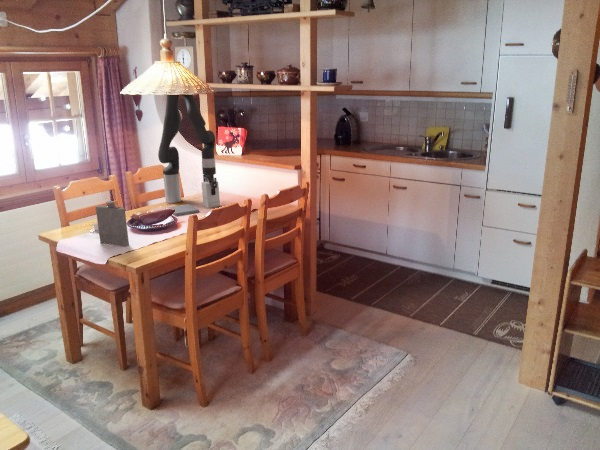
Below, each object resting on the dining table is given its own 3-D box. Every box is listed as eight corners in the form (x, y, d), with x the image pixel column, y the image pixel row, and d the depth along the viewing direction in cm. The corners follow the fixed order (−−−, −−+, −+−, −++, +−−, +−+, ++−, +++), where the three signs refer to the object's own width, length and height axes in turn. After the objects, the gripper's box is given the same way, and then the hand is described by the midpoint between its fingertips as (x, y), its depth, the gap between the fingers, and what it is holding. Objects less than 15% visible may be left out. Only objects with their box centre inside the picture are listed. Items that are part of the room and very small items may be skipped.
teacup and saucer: (110, 230, 268) (109, 222, 267) (96, 234, 262) (95, 226, 260) (99, 227, 273) (98, 220, 272) (86, 231, 266) (85, 224, 265)
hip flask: (98, 243, 247) (93, 201, 241) (105, 240, 250) (99, 199, 245) (125, 246, 241) (120, 204, 235) (131, 244, 244) (126, 202, 239)
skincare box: (215, 204, 314) (213, 179, 310) (220, 206, 310) (218, 181, 306) (202, 206, 309) (200, 181, 305) (208, 208, 305) (206, 183, 300)
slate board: (165, 210, 303) (165, 207, 303) (188, 206, 310) (188, 204, 310) (175, 216, 290) (175, 213, 290) (199, 212, 297) (199, 209, 297)
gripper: (197, 165, 307) (200, 192, 311) (207, 168, 295) (209, 197, 299) (209, 163, 310) (211, 190, 315) (219, 166, 299) (221, 195, 303)
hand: (210, 193), depth 307 cm, fingers open, 7 cm apart
